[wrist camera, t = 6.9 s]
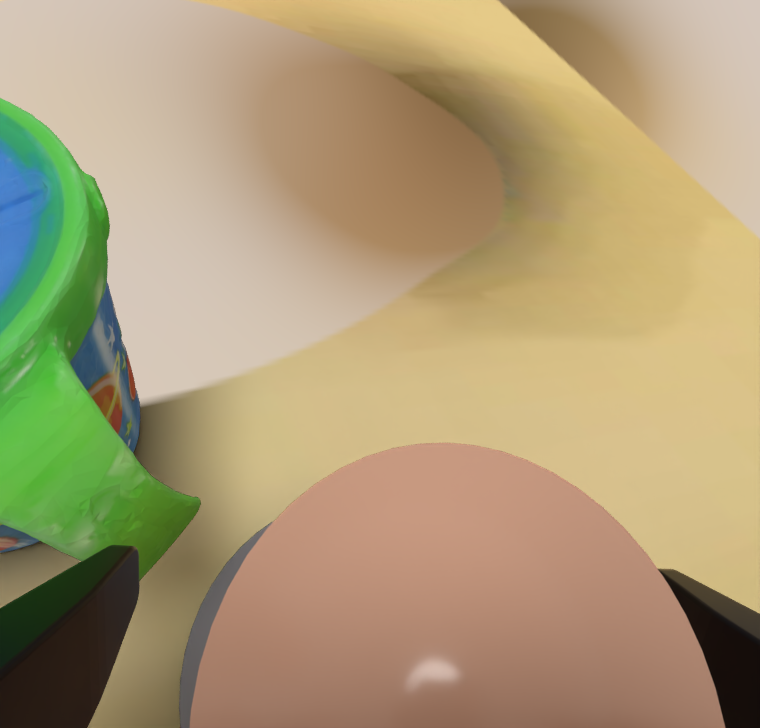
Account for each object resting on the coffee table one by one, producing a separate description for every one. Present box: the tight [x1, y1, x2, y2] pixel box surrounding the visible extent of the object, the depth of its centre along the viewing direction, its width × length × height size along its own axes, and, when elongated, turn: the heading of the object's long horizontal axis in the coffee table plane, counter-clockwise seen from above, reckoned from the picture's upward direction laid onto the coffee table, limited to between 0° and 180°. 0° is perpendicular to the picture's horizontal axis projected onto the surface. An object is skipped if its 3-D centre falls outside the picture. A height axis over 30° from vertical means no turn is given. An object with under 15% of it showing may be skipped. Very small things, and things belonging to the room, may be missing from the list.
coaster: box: [179, 520, 275, 728], centre depth 15 cm, size 10×10×1 cm
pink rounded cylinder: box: [190, 443, 725, 728], centre depth 10 cm, size 5×5×12 cm
